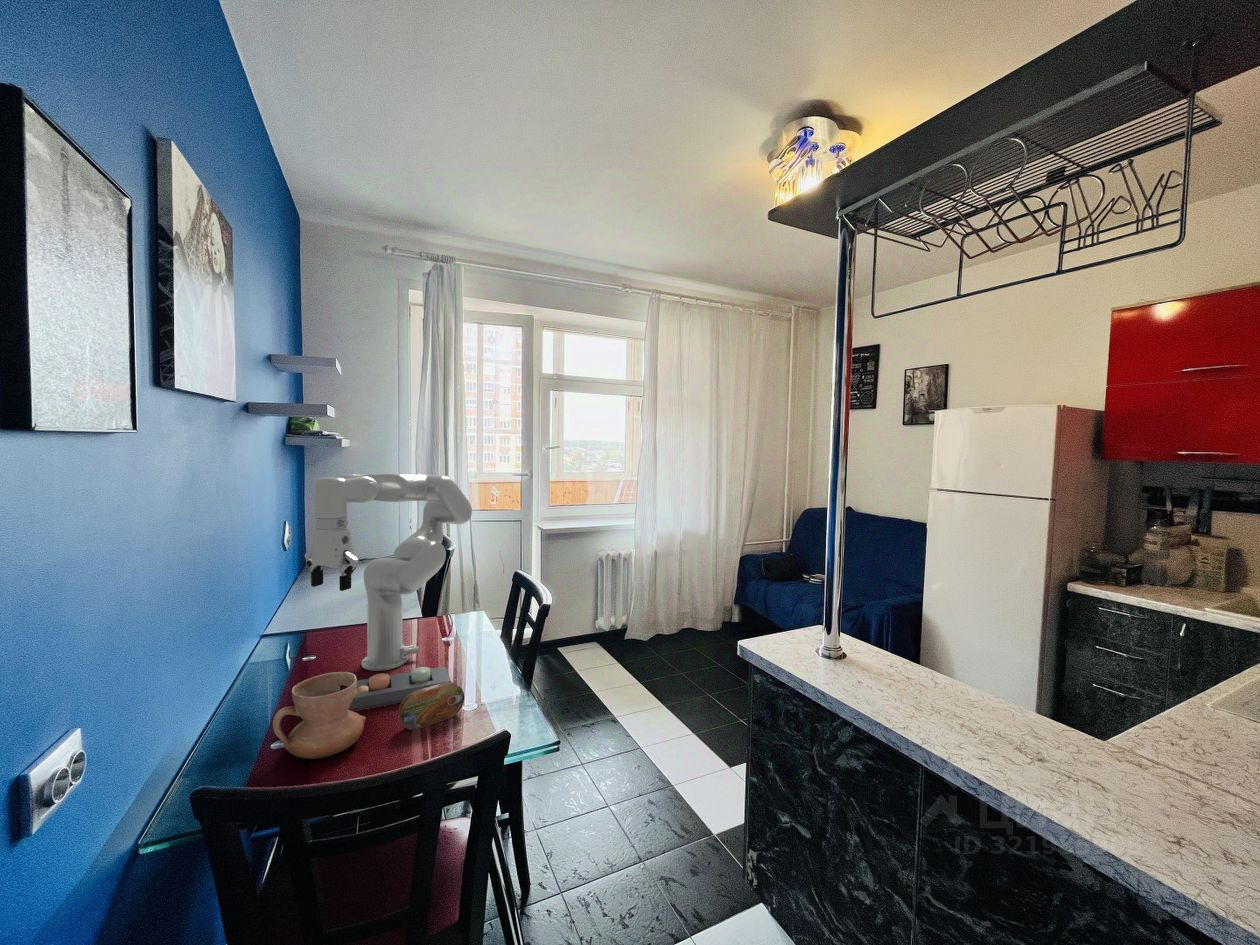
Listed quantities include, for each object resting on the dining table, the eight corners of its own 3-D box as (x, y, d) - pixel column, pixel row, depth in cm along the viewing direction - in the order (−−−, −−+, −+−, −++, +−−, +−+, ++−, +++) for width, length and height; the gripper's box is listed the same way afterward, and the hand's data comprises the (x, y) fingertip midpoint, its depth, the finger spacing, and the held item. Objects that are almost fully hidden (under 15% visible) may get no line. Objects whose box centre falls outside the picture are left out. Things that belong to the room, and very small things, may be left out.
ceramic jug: (363, 719, 123) (361, 661, 123) (376, 748, 112) (375, 684, 111) (271, 747, 112) (269, 683, 112) (276, 781, 101) (274, 711, 100)
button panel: (445, 678, 146) (445, 666, 146) (450, 693, 137) (450, 681, 137) (349, 695, 135) (349, 681, 135) (348, 713, 126) (347, 699, 126)
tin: (400, 735, 118) (400, 699, 117) (396, 728, 120) (396, 693, 120) (464, 714, 127) (465, 681, 127) (459, 709, 130) (460, 676, 129)
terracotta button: (389, 683, 137) (389, 672, 137) (389, 691, 133) (389, 679, 132) (368, 686, 135) (368, 675, 135) (369, 694, 130) (368, 683, 130)
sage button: (429, 676, 141) (429, 665, 141) (431, 683, 137) (431, 672, 137) (410, 679, 139) (410, 668, 139) (411, 687, 135) (411, 676, 135)
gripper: (368, 524, 137) (368, 587, 138) (318, 519, 143) (318, 580, 143) (344, 528, 130) (344, 595, 131) (293, 523, 135) (293, 587, 136)
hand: (331, 587), depth 137 cm, fingers open, 9 cm apart
